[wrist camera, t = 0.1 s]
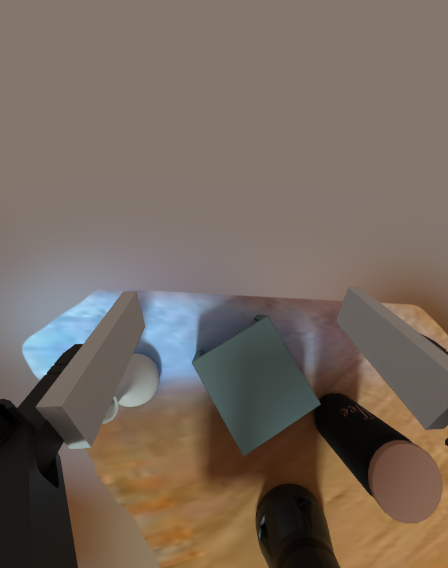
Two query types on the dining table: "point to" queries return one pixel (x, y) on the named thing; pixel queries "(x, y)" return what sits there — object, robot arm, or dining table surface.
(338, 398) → the coffee jar
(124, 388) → the flower in vase
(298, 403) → the green riser stand
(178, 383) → the dining table surface
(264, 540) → the robot arm
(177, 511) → the dining table surface
